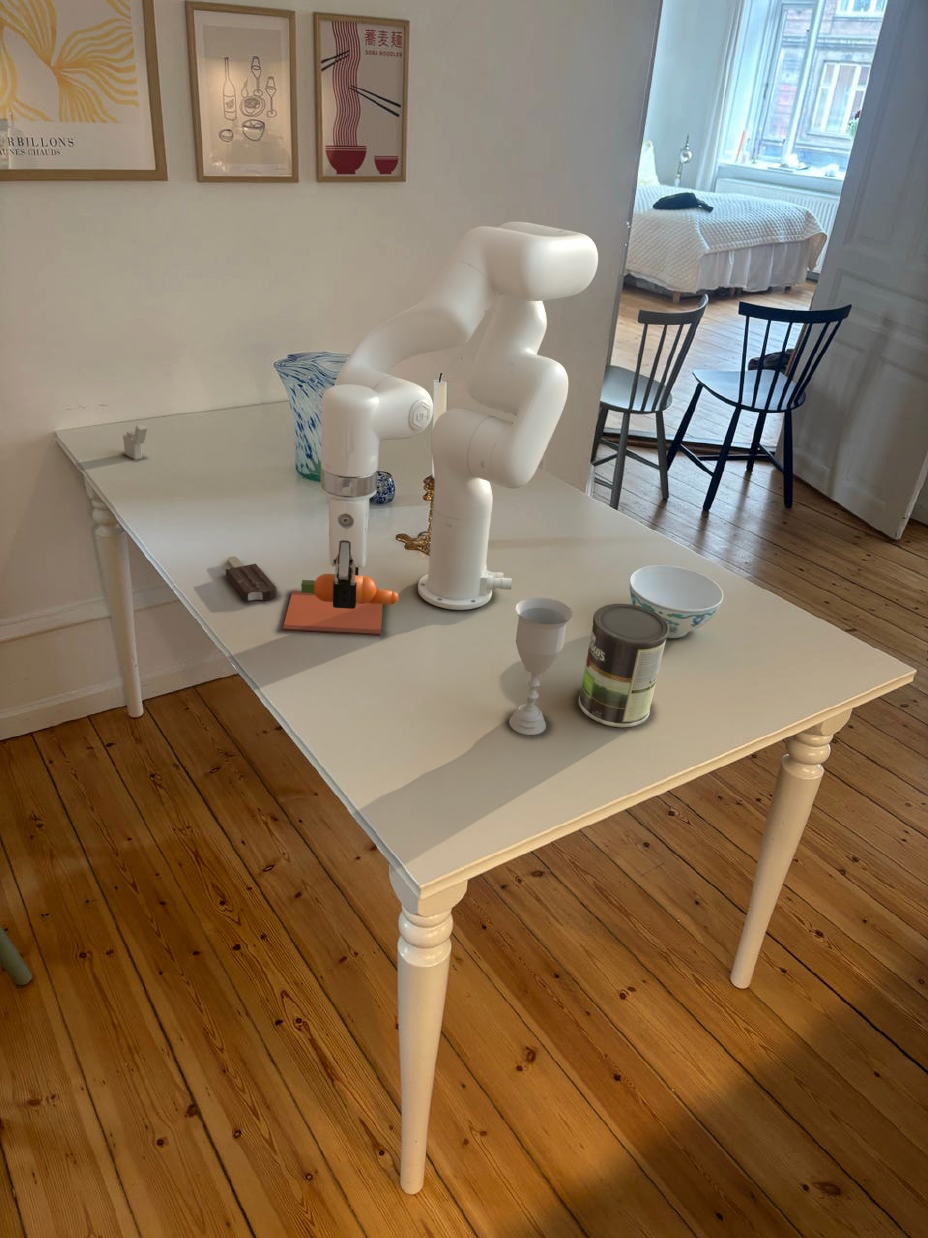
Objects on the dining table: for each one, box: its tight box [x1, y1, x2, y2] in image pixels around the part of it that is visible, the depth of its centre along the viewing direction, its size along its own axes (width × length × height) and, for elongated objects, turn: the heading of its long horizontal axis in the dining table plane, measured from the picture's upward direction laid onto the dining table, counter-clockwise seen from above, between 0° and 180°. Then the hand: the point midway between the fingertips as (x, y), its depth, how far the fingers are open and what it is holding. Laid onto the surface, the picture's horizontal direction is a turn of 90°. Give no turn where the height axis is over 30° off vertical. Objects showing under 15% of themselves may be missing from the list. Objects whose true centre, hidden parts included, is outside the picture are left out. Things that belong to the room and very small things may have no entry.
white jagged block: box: [122, 423, 148, 461], centre depth 195 cm, size 7×2×8 cm, turn 48°
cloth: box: [282, 590, 384, 636], centre depth 149 cm, size 15×12×1 cm
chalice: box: [508, 597, 573, 736], centre depth 123 cm, size 7×7×18 cm
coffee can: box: [578, 603, 669, 728], centre depth 129 cm, size 10×10×14 cm
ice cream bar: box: [225, 555, 277, 602], centre depth 155 cm, size 5×2×15 cm
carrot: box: [300, 573, 399, 606], centre depth 133 cm, size 14×4×4 cm, turn 92°
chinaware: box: [629, 564, 724, 639], centre depth 152 cm, size 15×15×8 cm
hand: (345, 597), depth 133 cm, fingers closed on carrot, 4 cm apart
